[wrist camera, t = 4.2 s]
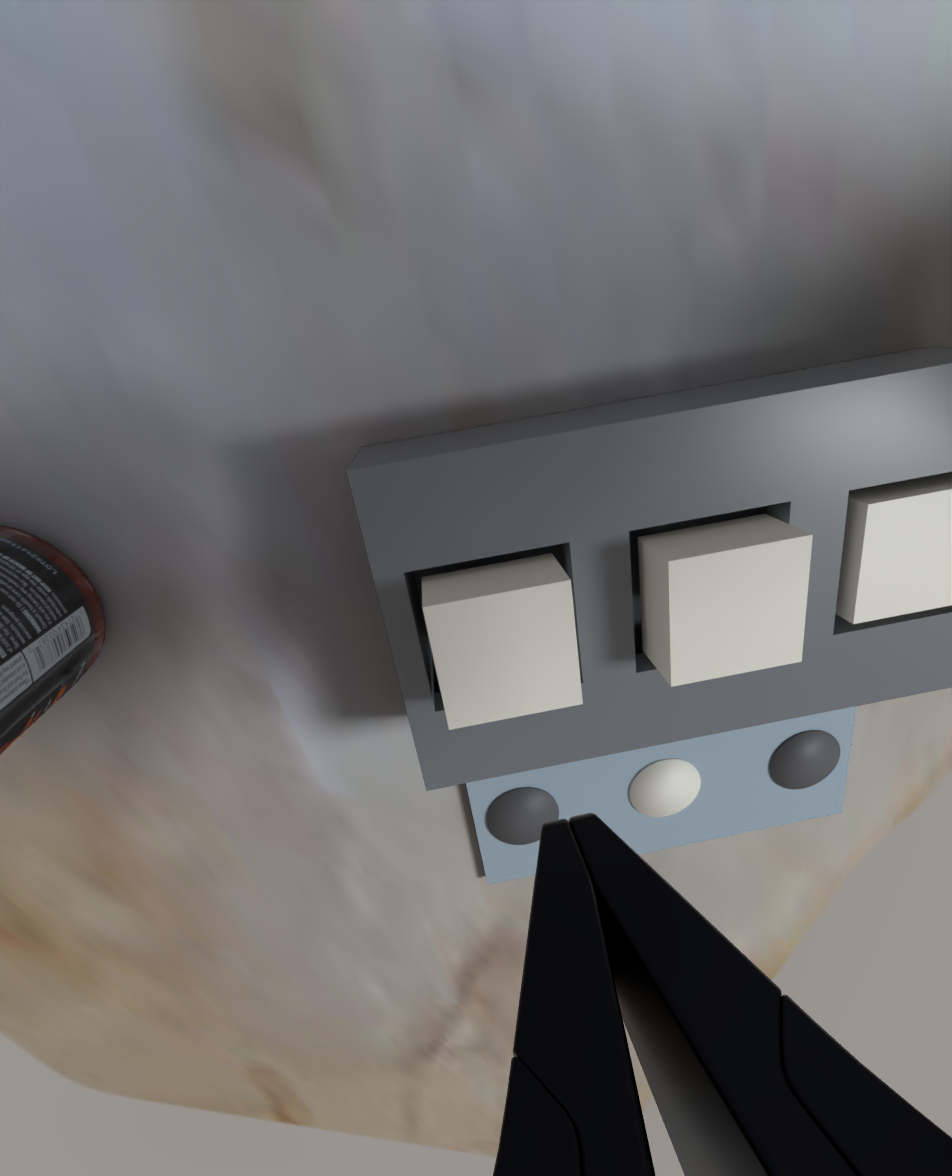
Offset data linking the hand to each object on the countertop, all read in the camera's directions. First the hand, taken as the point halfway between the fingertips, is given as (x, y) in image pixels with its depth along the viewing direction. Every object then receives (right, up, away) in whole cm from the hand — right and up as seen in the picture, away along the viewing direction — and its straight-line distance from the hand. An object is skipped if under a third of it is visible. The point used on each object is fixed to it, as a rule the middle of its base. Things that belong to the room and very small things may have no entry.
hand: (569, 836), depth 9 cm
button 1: (-1, +3, +7) cm, 8 cm away
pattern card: (+6, -4, +14) cm, 16 cm away
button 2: (+11, +6, +8) cm, 15 cm away
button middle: (+5, +4, +7) cm, 10 cm away
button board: (+5, +5, +10) cm, 13 cm away
